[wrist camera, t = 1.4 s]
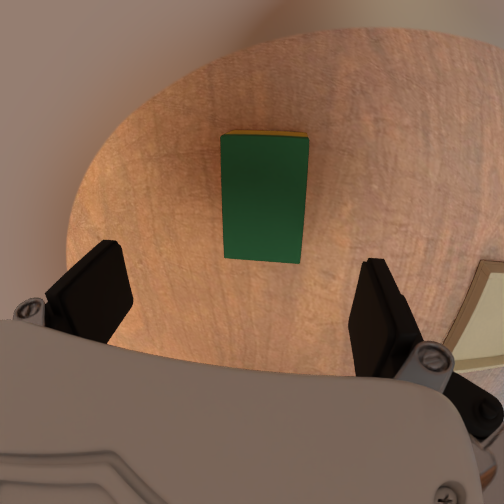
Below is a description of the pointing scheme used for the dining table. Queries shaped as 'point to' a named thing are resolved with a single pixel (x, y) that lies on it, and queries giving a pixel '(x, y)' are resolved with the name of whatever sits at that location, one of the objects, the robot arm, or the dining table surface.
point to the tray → (480, 322)
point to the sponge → (264, 194)
